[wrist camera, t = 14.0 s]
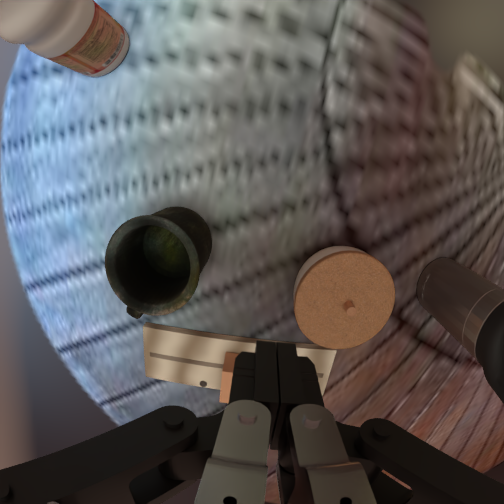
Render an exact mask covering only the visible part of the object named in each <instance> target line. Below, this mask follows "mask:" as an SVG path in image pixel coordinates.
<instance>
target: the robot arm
mask: <svg viewBox="0 0 504 504" xmlns="http://www.w3.org/2000/svg"><path fill="white" fill-rule="evenodd" d="M417 297H418V300H419V302H420V304H421V305H422V306H423V307H424V308H425V309H426V310H427V311H428V312H429V313H430V314H431V315H432V316H433V317H434V318H435V319H436V320H437V321H438V322H439V323H440V324H441V325H442V326H443V327H444V328H445V329H446V330H447V331H448V332H449V333H450V334H451V335H452V336H453V337H454V338H455V339H456V340H457V341H458V342H459V343H460V344H461V345H462V346H463V347H464V348H465V349H466V350H467V351H468V352H469V353H470V354H471V355H472V356H473V357H474V358H475V359H476V360H477V361H478V362H479V363H480V364H481V365H482V367H483V370H484V374H485V377H486V380H487V381H488V383H489V385H490V386H491V387H492V389H493V390H494V391H495V393H496V394H497V395H498V397H499V398H500V399H501V401H502V402H503V403H504V289H502V288H501V287H499V286H498V285H496V284H494V283H493V282H491V281H489V280H487V279H486V278H484V277H482V276H481V275H479V274H477V273H475V272H474V271H472V270H470V269H468V268H467V267H465V266H463V265H462V264H460V263H458V262H456V261H454V260H452V259H450V258H446V257H444V258H439V259H436V260H434V261H433V262H431V263H430V264H429V265H428V266H427V267H426V268H425V269H424V271H423V272H422V274H421V276H420V278H419V281H418V285H417ZM269 444H270V449H272V450H278V460H277V464H276V473H277V481H278V489H279V497H280V504H504V484H502V483H500V482H498V481H496V480H494V479H492V478H490V477H488V476H486V475H484V474H482V473H480V472H478V471H477V470H475V469H473V468H471V467H469V466H467V465H465V464H463V463H462V462H460V461H458V460H456V459H454V458H452V457H451V456H449V455H447V454H445V453H443V452H442V451H440V450H438V449H436V448H435V447H433V446H431V445H429V444H428V443H426V442H424V441H423V440H421V439H419V438H417V437H416V436H414V435H412V434H411V433H409V432H407V431H406V430H404V429H402V428H401V427H399V426H397V425H396V424H394V423H393V422H391V421H388V420H386V419H381V418H374V419H369V420H367V421H365V422H364V423H363V424H362V425H361V427H355V426H350V425H346V424H342V423H340V422H337V421H335V418H334V416H333V414H332V413H331V412H330V411H329V410H328V409H326V408H325V407H324V402H323V398H322V394H321V389H320V385H319V382H318V376H317V372H316V368H315V364H314V363H313V362H312V361H311V360H310V359H309V358H308V357H305V356H298V355H297V349H296V344H295V343H284V342H276V343H275V342H271V341H261V340H257V341H256V347H255V353H254V352H244V351H241V353H240V354H239V355H238V356H237V357H236V358H235V362H234V369H233V376H232V383H231V390H230V397H229V403H228V405H227V407H226V408H225V410H223V411H222V412H220V413H219V414H216V415H213V416H209V417H199V418H197V417H196V416H195V414H194V413H193V412H192V411H190V410H188V409H186V408H184V407H180V406H164V407H161V408H159V409H157V410H154V411H152V412H150V413H148V414H146V415H144V416H142V417H140V418H137V419H135V420H133V421H131V422H129V423H126V424H124V425H122V426H120V427H117V428H115V429H113V430H110V431H108V432H106V433H103V434H101V435H99V436H96V437H94V438H91V439H89V440H86V441H84V442H81V443H79V444H76V445H73V446H71V447H68V448H65V449H63V450H60V451H58V452H55V453H52V454H49V455H46V456H43V457H40V458H37V459H34V460H31V461H28V462H25V463H22V464H19V465H15V466H12V467H9V468H5V469H2V470H0V504H161V503H163V502H164V501H166V500H168V499H169V498H171V497H173V496H174V495H176V494H178V493H179V492H181V491H183V490H184V489H186V488H187V487H189V486H190V485H192V484H193V483H195V482H196V480H197V479H201V482H200V486H199V489H198V493H197V496H196V499H195V502H194V504H264V500H265V491H266V482H267V472H268V466H266V464H267V454H268V449H269ZM383 469H384V470H385V471H387V472H388V473H390V474H391V475H393V476H394V477H396V478H397V479H399V480H401V481H402V482H404V483H405V484H407V485H408V486H410V487H411V488H412V490H409V489H407V488H406V487H404V486H403V485H401V484H399V483H398V482H396V481H395V480H393V479H392V478H390V477H389V476H387V475H386V474H384V473H383V472H382V470H383Z"/></svg>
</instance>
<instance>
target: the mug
mask: <svg viewBox="0 0 504 504" xmlns="http://www.w3.org/2000/svg"><path fill="white" fill-rule="evenodd" d="M211 248H212V239H211V234H210V231H209V228H208V226H207V225H206V223H205V222H204V220H203V219H202V218H201V217H200V216H199V215H198V214H197V213H195V212H194V211H192V210H190V209H187V208H183V207H169V208H165V209H163V210H161V211H158V212H156V213H154V214H152V215H145V216H139V217H135V218H132V219H130V220H128V221H126V222H125V223H124V224H122V225H121V226H120V227H119V228H118V229H117V230H116V231H115V233H114V234H113V235H112V237H111V239H110V241H109V243H108V246H107V249H106V255H105V268H106V274H107V278H108V281H109V283H110V285H111V287H112V289H113V291H114V292H115V294H116V295H117V296H118V297H119V299H120V300H121V301H122V302H123V303H125V304H126V305H127V313H128V314H129V315H131V316H132V317H134V318H136V319H138V318H140V317H141V316H142V315H143V314H147V315H166V314H169V313H172V312H174V311H176V310H178V309H180V308H181V307H182V306H184V305H185V304H186V303H187V302H188V301H189V300H190V298H191V297H192V295H193V294H194V292H195V290H196V288H197V285H198V281H199V275H200V273H201V272H202V270H203V268H204V266H205V265H206V263H207V261H208V259H209V257H210V253H211Z"/></svg>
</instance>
